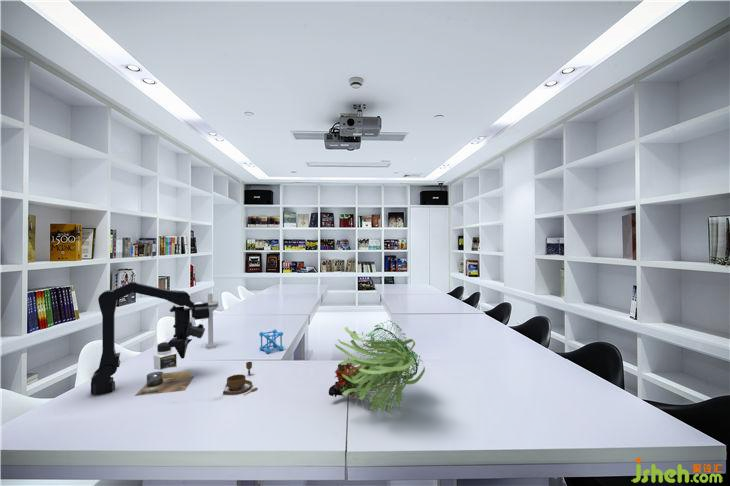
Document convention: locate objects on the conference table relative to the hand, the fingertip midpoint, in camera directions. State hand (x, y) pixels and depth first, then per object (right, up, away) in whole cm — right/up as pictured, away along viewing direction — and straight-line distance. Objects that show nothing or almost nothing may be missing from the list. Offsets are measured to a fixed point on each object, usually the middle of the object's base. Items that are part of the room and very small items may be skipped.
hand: (182, 358), depth 146 cm
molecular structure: (+27, -9, +40) cm, 49 cm away
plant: (+82, -8, -22) cm, 85 cm away
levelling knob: (-2, -7, -6) cm, 10 cm away
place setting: (+28, -9, -6) cm, 30 cm away
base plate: (-2, -9, -9) cm, 13 cm away
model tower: (-9, -10, +48) cm, 49 cm away
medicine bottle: (-16, -10, +14) cm, 23 cm away
